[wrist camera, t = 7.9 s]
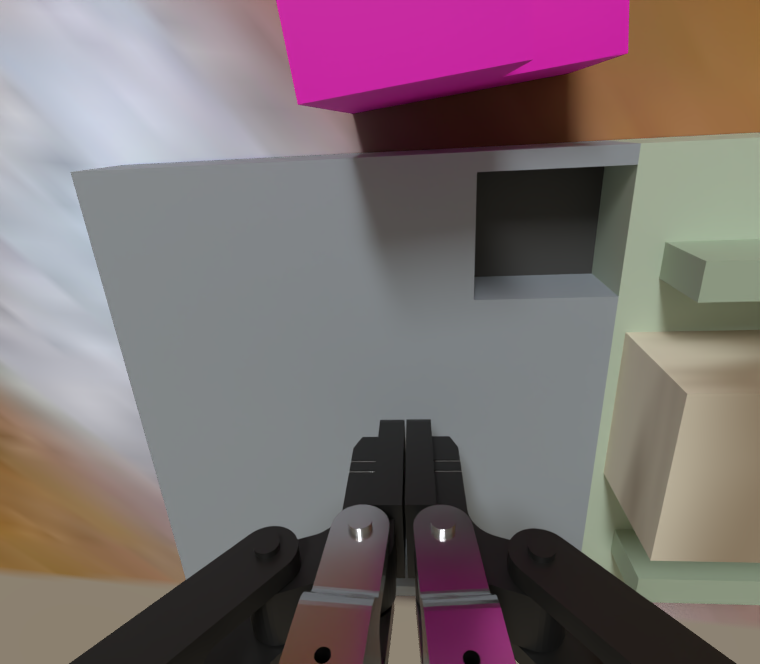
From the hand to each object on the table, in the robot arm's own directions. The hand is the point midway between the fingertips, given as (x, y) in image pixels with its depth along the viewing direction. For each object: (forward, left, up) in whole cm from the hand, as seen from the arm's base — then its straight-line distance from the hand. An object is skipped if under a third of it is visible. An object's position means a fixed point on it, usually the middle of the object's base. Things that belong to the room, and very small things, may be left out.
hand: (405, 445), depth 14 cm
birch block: (-9, 0, -1) cm, 9 cm away
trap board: (-2, 0, -4) cm, 4 cm away
